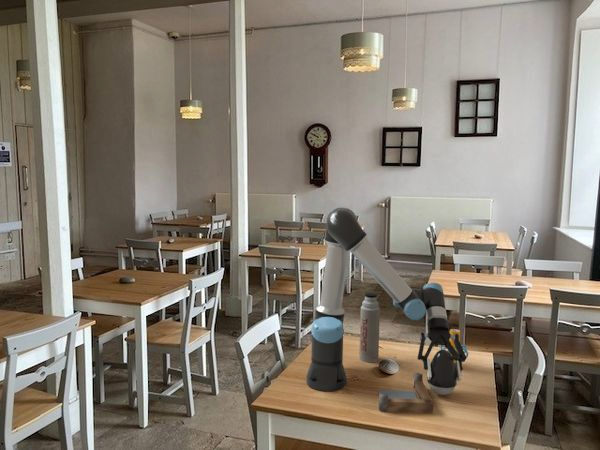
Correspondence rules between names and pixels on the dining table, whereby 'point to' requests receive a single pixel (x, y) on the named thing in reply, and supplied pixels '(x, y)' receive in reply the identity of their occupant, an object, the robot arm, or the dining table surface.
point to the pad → (399, 394)
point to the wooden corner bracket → (408, 400)
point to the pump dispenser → (443, 373)
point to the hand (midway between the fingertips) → (444, 379)
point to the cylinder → (453, 332)
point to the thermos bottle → (369, 329)
